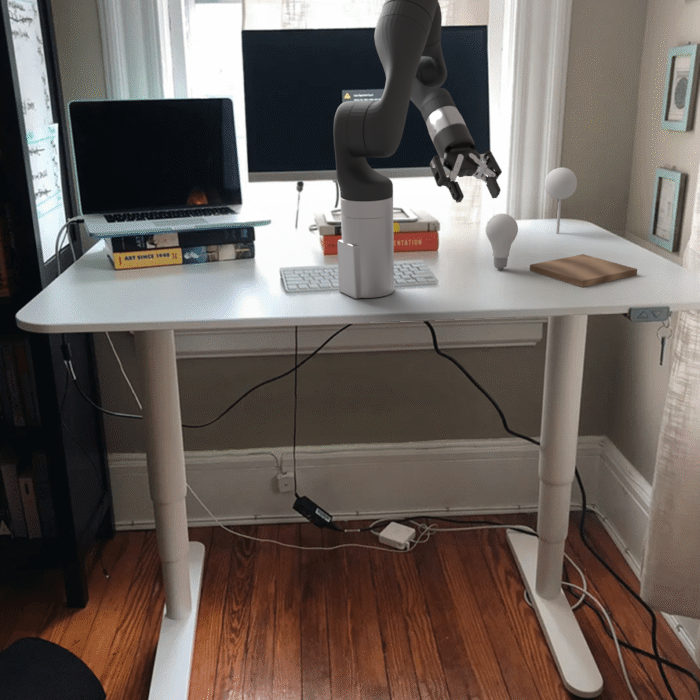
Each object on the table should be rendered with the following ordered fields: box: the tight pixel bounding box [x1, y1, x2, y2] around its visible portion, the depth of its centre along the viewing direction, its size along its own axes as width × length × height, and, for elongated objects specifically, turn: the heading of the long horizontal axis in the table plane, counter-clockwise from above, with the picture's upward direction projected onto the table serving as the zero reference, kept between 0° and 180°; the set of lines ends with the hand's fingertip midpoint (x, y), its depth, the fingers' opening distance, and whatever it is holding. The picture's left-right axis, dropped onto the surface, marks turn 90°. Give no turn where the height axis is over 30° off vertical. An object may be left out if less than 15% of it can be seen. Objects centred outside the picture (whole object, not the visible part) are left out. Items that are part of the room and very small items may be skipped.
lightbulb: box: [485, 213, 519, 271], centre depth 155 cm, size 6×6×11 cm
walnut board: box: [529, 253, 638, 288], centre depth 153 cm, size 14×14×1 cm
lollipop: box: [544, 167, 578, 234], centre depth 182 cm, size 7×7×15 cm
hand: (478, 198), depth 159 cm, fingers open, 8 cm apart
